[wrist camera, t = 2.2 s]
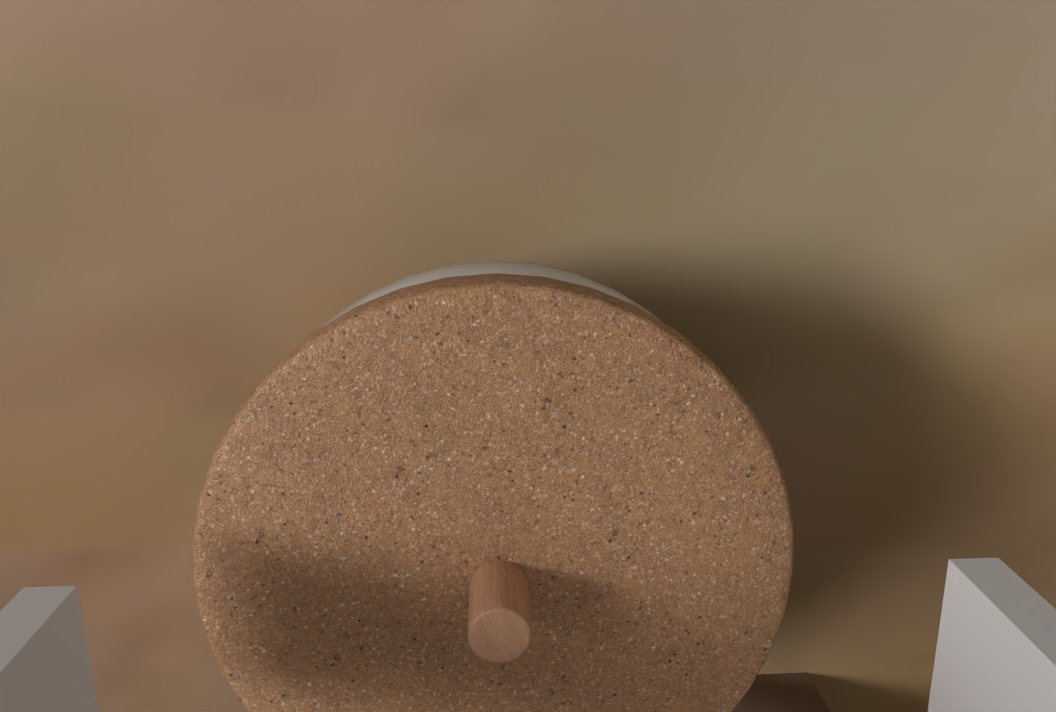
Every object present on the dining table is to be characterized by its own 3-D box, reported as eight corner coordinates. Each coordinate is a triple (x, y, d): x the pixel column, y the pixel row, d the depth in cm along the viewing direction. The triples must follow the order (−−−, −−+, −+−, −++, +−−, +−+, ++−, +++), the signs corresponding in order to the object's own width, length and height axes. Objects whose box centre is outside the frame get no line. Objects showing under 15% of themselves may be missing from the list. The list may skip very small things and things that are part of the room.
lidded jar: (588, 145, 21) (668, 171, 12) (756, 503, 23) (925, 745, 14) (207, 343, 22) (7, 509, 12) (413, 664, 24) (371, 988, 15)
